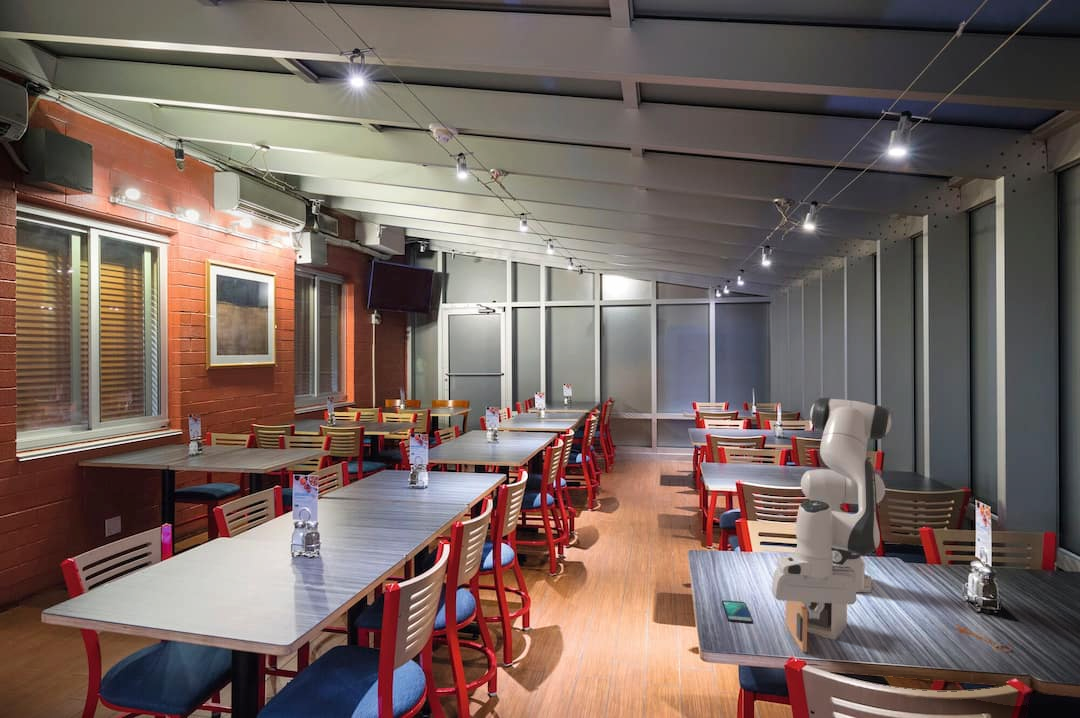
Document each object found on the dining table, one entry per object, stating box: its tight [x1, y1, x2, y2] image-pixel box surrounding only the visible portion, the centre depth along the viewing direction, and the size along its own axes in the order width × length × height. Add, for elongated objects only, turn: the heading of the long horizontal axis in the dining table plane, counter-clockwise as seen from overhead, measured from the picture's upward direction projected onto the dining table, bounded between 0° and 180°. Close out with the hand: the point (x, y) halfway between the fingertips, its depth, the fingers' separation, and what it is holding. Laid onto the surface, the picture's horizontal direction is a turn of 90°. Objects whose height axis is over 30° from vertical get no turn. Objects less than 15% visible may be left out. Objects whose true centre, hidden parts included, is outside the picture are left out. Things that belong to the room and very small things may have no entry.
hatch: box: [785, 601, 808, 653], centre depth 161 cm, size 2×16×11 cm, turn 172°
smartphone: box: [721, 599, 754, 625], centre depth 178 cm, size 7×1×15 cm
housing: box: [802, 602, 848, 641], centre depth 170 cm, size 12×12×12 cm
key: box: [953, 625, 1012, 653], centre depth 163 cm, size 6×1×15 cm
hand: (813, 618), depth 154 cm, fingers closed
